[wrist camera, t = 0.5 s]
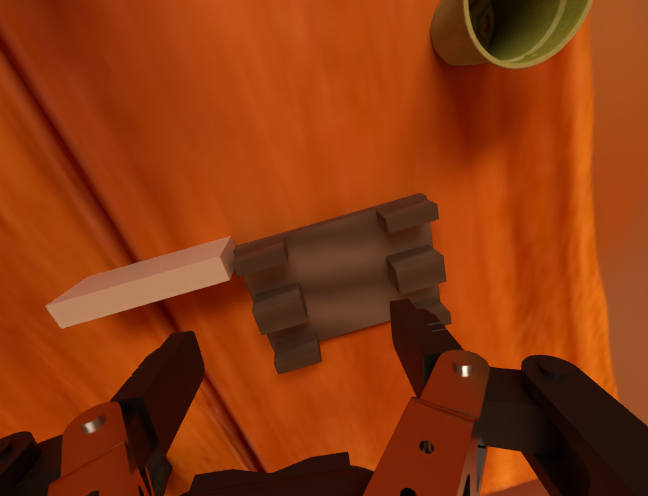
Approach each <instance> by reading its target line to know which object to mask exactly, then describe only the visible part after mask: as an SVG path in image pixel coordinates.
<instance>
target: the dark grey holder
mask: <svg viewBox="0 0 648 496" xmlns="http://www.w3.org/2000/svg"><path fill="white" fill-rule="evenodd" d="M437 219H439V216H438V207H437V204H436V203H433V202H431V201H429V200H427V198H426V195H423V194H421V193H419V194H416V195H412V196H409V197H405V198H402V199H398V200H395V201H391V202H388V203H384V204H381V205H377V206H374V207H371V208H367V209H364V210H360V211H357V212H353V213H350V214H346V215H343V216H339V217H336V218H332V219H329V220H325V221H322V222H318V223H315V224H311V225H308V226H304V227H301V228H298V229H294V230H291V231H287V232H284V233H280V234H277V235H273V236H270V237H266V238H263V239H259V240H256V241H252V242H249V243H245V244H242V245H238V246H235V248H234V250H233V253H234V255H235V257H234V259H233V262H232V265H233V268H234V270H235V272H236V275H237V277H240V276H243V277H244V279H245V282H246V284H247V287H248V289H249V292H250V294H251V296H252V299H253V301H254V304H253V309H252V313H253V315H254V318H255V320H256V322H257V325H258V327H259V330H260V332H261V334H262V335H265V334H267V335H268V338H269V340H270V343H271V345H272V348H273V350H274V352H275V357H274V365H275V368H276V370H277V373H278V375H279V374H282V373H285V372H289V371H292V370H296V369H299V368H302V367H306V366H309V365H313V364H316V363H319V362H322V359H321V352H320V346H319V341H322V340H326V339H329V338H332V337H336V336H339V335H343V334H346V333H350V332H353V331H356V330H360V329H363V328H367V327H370V326H373V325H377V324H380V323H384V322H387V321H391V317H390V301H394V300H401V299H407V298H408V299H409V300H410V301H411V302H412V304H413V305H414V306H415V308H416V309H426V310H428V311H430V312H432V313H433V314H435V315H436V316H437V318H438V319H439V320H440V321H441V323H442V324H443V325H444V326H445V325H449V324H452V323H451V315H450V312H449V311H448V310H447V309H446V308H445V306H444V305H443V304H442V303H441V302H440V296H439V288H438V284H439V283H443V282H446V274H445V265H444V257H443V255H441V254H440V253H439V252H438V251H436V250H435V249H434V248H433V243H432V236H431V228H430V221H434V220H437Z"/></svg>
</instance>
